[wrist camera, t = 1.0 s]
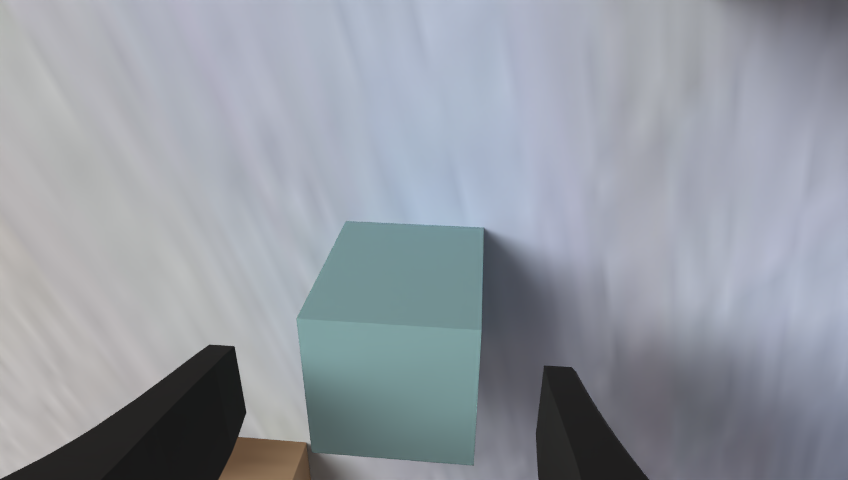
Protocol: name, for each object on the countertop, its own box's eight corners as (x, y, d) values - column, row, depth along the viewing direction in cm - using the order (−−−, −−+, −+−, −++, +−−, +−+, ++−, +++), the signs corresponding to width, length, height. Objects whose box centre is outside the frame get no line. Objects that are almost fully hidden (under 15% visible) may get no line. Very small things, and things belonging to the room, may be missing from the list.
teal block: (483, 227, 17) (481, 330, 12) (477, 340, 19) (473, 465, 14) (346, 220, 17) (296, 318, 13) (353, 332, 19) (311, 452, 15)
